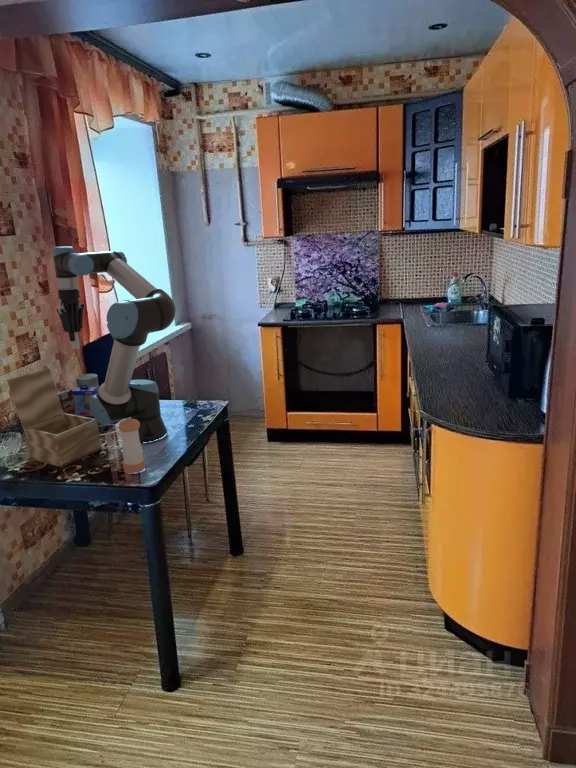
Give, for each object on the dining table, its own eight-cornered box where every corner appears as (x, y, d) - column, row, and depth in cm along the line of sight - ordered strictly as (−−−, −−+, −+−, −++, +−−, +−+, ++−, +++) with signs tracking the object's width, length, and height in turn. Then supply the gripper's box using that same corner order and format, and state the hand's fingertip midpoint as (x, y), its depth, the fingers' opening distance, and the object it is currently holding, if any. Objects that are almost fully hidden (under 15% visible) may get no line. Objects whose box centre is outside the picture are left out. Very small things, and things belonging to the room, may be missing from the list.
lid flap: (49, 368, 213) (48, 368, 213) (7, 380, 198) (6, 380, 198) (63, 412, 216) (62, 412, 216) (23, 427, 201) (22, 427, 201)
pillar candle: (79, 402, 269) (74, 372, 265) (100, 399, 273) (96, 369, 268) (80, 408, 260) (76, 377, 256) (102, 404, 264) (98, 374, 260)
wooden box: (101, 448, 211) (97, 419, 207) (62, 467, 196) (56, 435, 192) (68, 441, 219) (64, 413, 216) (29, 458, 204) (23, 428, 201)
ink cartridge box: (75, 416, 248) (70, 385, 244) (80, 412, 254) (75, 382, 250) (97, 416, 248) (92, 385, 244) (101, 412, 253) (97, 381, 249)
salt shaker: (120, 474, 188) (113, 421, 183) (129, 465, 195) (123, 414, 189) (140, 475, 187) (133, 422, 181) (149, 466, 193) (143, 414, 188)
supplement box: (66, 431, 231) (60, 395, 226) (56, 431, 231) (50, 394, 227) (78, 424, 239) (72, 389, 234) (68, 423, 240) (62, 388, 235)
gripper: (71, 285, 218) (79, 343, 225) (47, 290, 206) (56, 351, 213) (87, 286, 215) (94, 345, 223) (64, 291, 204) (72, 353, 211)
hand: (75, 348), depth 218 cm, fingers closed
